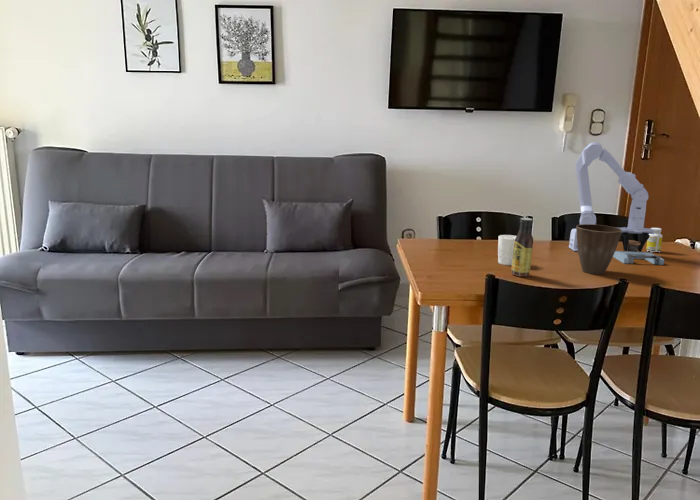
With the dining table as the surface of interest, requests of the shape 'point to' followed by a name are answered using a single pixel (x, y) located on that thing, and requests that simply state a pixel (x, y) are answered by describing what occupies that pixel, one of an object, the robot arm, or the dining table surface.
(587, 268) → the plant pot
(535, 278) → the dining table surface
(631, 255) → the hook bar
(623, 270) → the dining table surface
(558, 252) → the dining table surface
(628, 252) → the notched board
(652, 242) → the supplement bottle
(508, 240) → the white cup
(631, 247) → the spool
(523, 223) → the sauce bottle
